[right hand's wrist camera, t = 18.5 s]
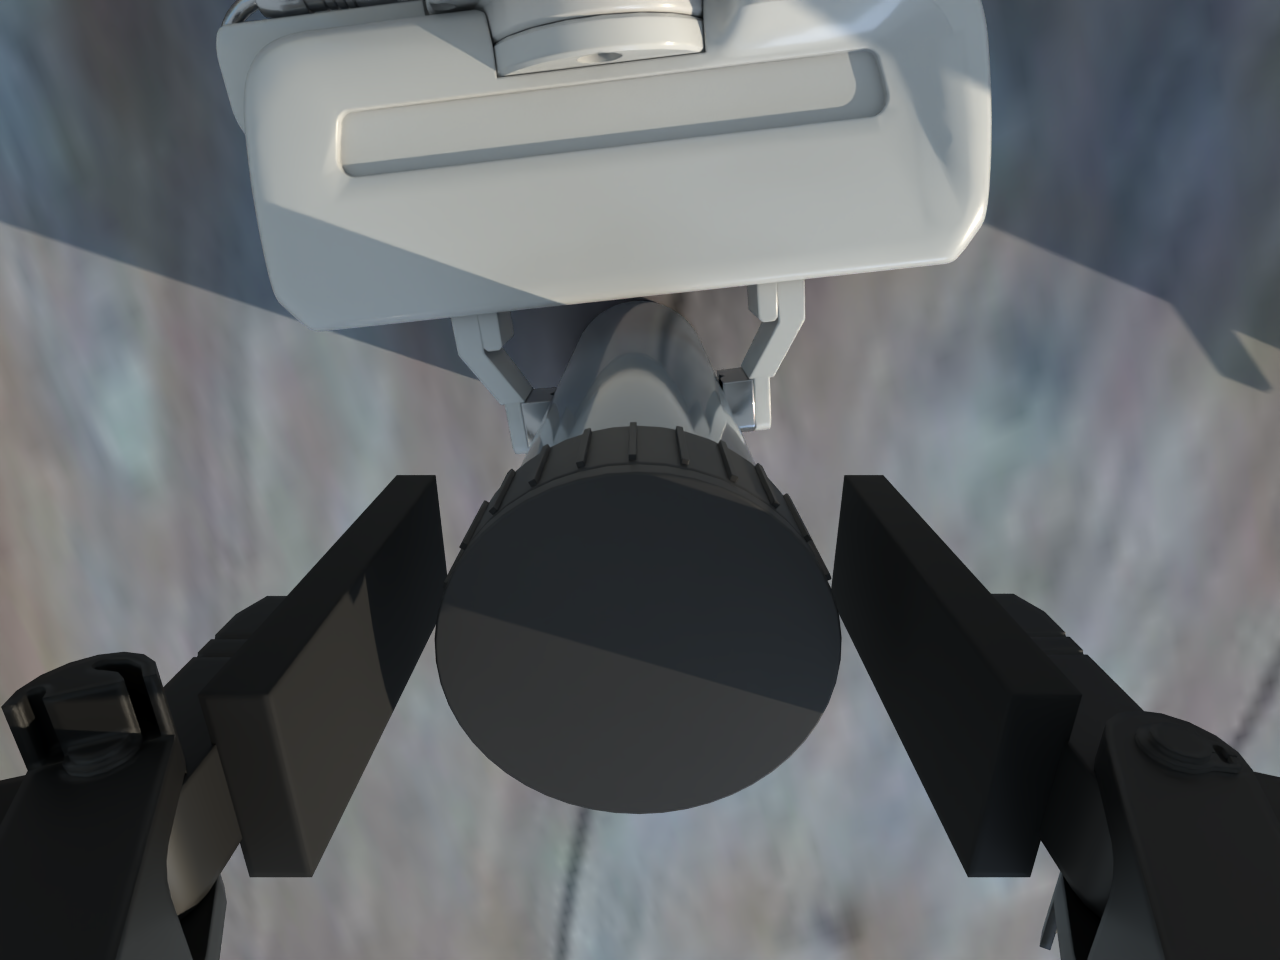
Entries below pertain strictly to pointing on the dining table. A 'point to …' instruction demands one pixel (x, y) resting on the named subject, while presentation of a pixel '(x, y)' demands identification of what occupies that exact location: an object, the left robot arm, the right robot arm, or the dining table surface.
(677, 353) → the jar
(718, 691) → the lid
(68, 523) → the dining table surface
